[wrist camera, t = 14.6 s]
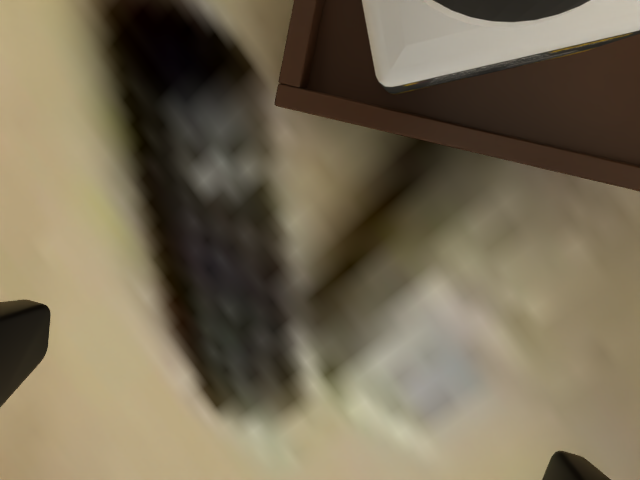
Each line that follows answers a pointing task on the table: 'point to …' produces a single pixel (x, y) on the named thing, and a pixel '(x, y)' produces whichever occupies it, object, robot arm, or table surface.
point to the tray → (475, 98)
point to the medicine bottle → (485, 35)
